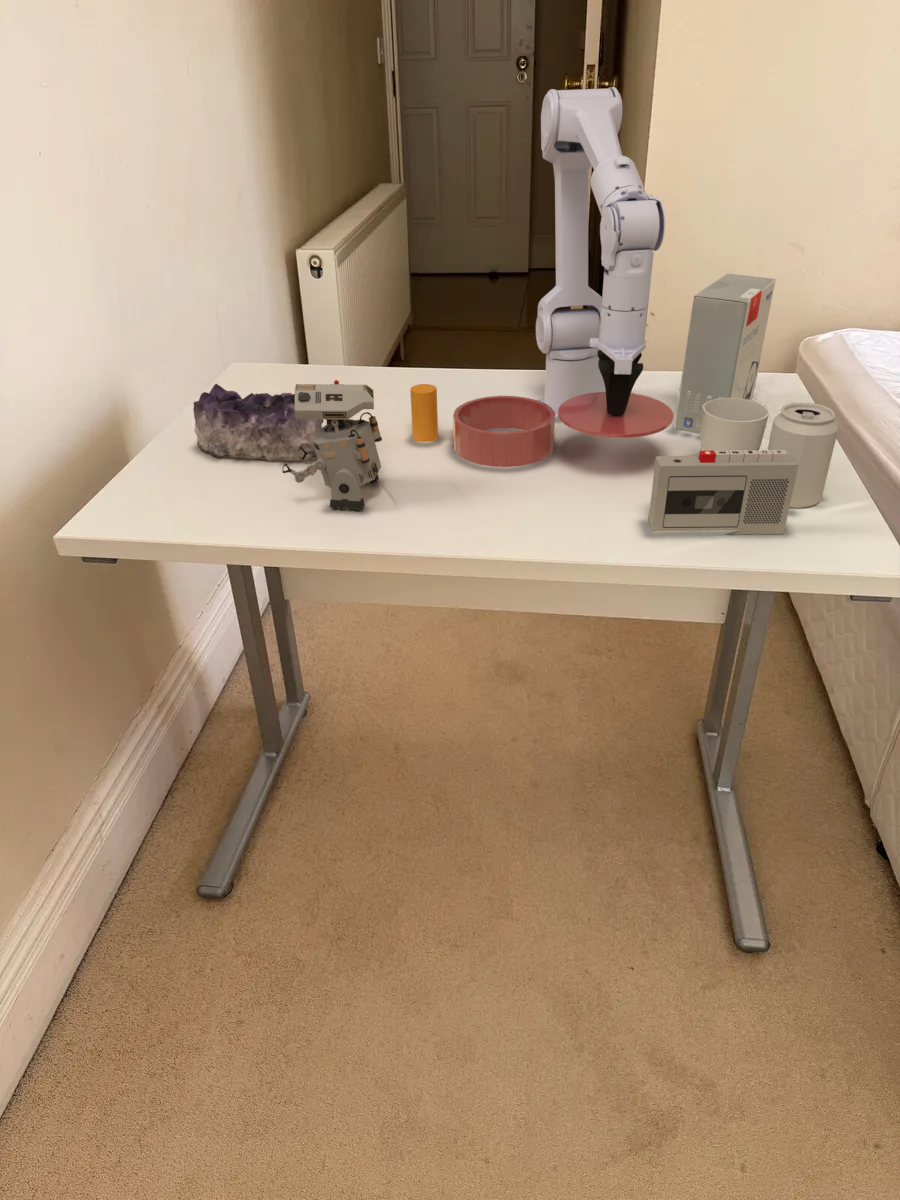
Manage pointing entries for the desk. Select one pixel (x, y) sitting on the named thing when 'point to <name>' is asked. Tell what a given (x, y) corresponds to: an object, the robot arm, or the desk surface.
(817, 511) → the desk surface
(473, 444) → the pot
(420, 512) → the desk surface
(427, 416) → the candle
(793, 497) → the can
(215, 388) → the geode
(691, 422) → the hard drive box
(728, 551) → the desk surface
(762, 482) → the cassette player
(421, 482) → the desk surface
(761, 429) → the cup
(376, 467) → the figurine
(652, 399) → the lid
